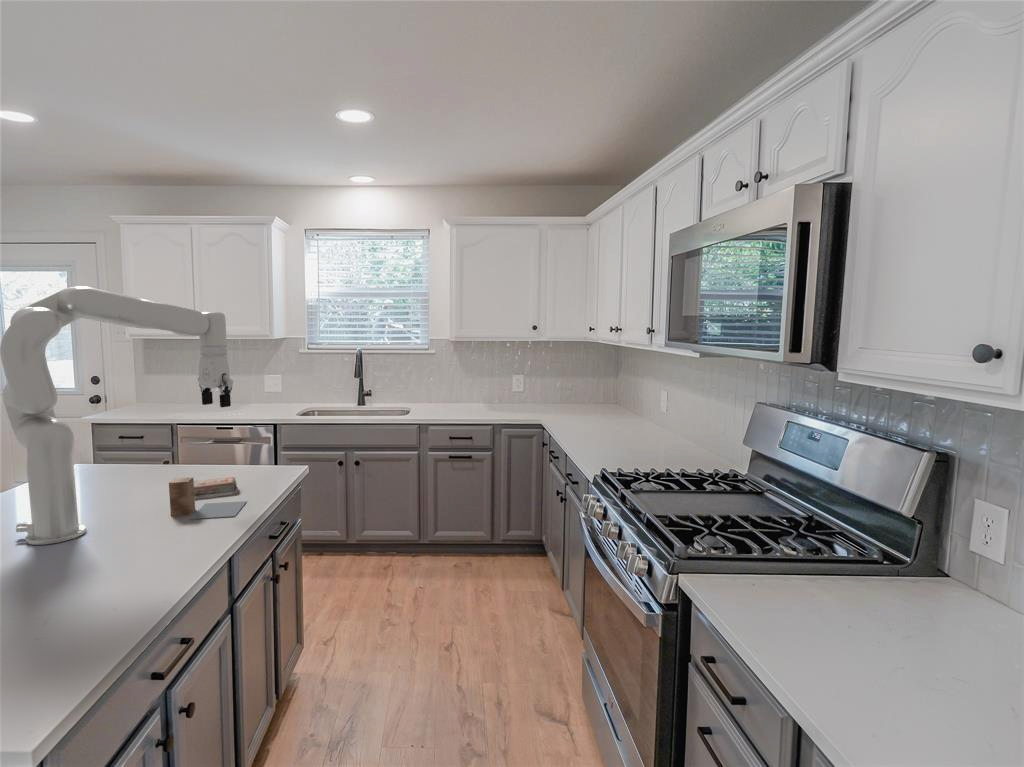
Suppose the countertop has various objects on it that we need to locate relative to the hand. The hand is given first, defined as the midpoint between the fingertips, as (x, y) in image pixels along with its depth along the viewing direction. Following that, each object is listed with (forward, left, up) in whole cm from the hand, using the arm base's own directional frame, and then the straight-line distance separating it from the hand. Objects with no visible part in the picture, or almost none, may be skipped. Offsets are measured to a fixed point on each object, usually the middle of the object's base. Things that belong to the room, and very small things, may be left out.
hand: (216, 405), depth 182 cm
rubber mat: (+3, -13, -30) cm, 33 cm away
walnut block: (-7, -13, -30) cm, 34 cm away
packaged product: (-6, +5, -31) cm, 32 cm away
